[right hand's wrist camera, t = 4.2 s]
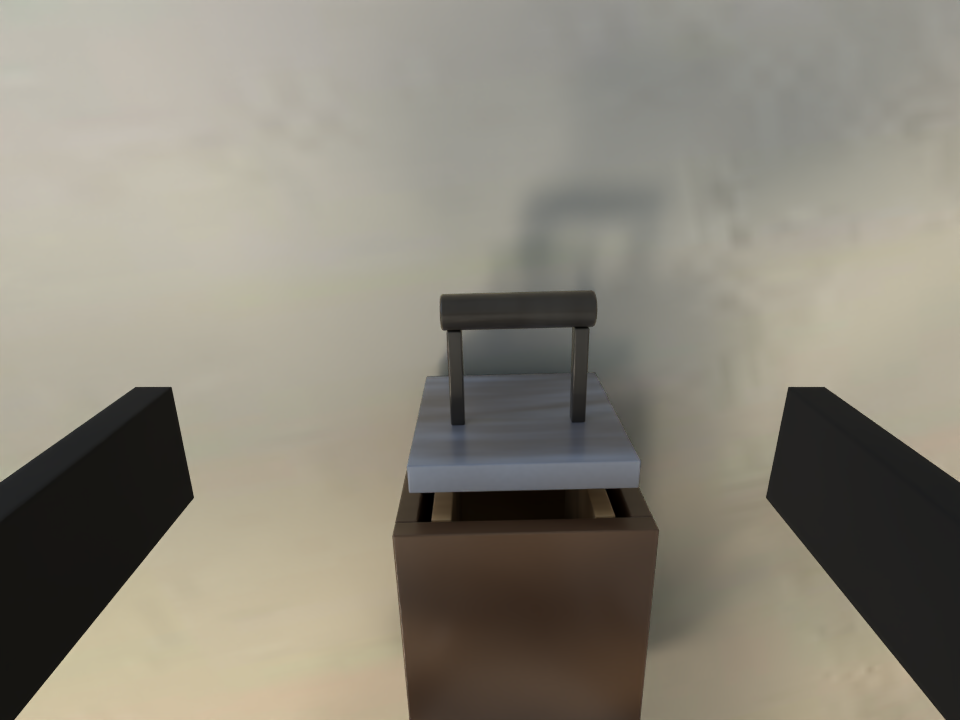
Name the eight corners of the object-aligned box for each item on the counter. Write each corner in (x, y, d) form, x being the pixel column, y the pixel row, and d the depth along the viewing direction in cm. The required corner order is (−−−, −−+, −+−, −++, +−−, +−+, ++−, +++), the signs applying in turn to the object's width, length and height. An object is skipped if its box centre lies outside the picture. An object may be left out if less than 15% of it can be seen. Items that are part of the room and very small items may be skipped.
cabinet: (419, 410, 32) (392, 536, 21) (601, 406, 32) (659, 529, 21) (437, 680, 38) (423, 871, 28) (586, 677, 38) (626, 867, 28)
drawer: (419, 268, 28) (395, 320, 20) (600, 263, 28) (653, 314, 19) (443, 651, 36) (433, 802, 28) (582, 647, 36) (613, 799, 28)
